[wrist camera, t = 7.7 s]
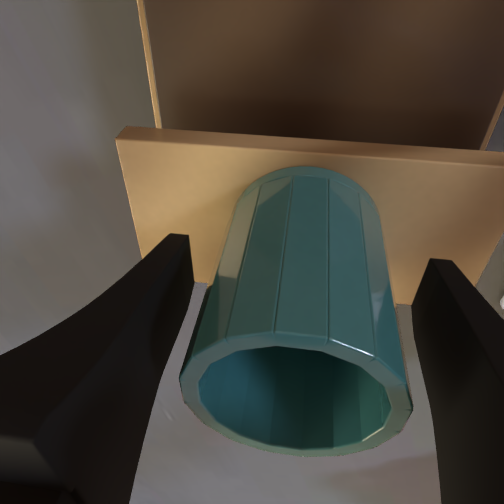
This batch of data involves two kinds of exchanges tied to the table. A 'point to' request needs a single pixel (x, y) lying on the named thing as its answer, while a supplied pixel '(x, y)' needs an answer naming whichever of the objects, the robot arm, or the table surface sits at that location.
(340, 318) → the cup
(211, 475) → the table surface
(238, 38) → the wooden small stand
